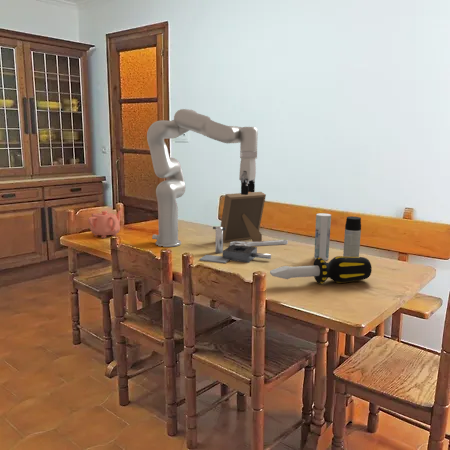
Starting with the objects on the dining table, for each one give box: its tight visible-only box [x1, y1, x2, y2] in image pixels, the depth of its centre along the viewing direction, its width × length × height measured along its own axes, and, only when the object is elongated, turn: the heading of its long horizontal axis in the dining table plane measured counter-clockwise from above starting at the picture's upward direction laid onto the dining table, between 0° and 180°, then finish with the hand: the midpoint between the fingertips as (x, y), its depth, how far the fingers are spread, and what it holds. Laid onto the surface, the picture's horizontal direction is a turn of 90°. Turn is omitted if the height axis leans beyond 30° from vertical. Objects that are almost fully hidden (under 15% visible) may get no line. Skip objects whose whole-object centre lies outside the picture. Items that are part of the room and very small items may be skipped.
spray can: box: [342, 216, 362, 257], centre depth 201 cm, size 7×7×20 cm
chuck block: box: [222, 245, 272, 263], centre depth 208 cm, size 20×12×4 cm, turn 69°
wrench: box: [229, 239, 288, 247], centre depth 232 cm, size 8×2×30 cm
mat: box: [198, 254, 230, 264], centre depth 206 cm, size 12×8×1 cm, turn 69°
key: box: [212, 226, 226, 254], centre depth 217 cm, size 6×3×12 cm, turn 69°
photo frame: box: [220, 191, 267, 244], centre depth 237 cm, size 15×22×25 cm
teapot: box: [87, 209, 124, 239], centre depth 249 cm, size 16×17×14 cm
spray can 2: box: [313, 212, 332, 261], centre depth 208 cm, size 6×6×20 cm
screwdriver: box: [269, 255, 373, 285], centre depth 174 cm, size 39×10×10 cm, turn 103°
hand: (247, 193), depth 212 cm, fingers open, 9 cm apart
